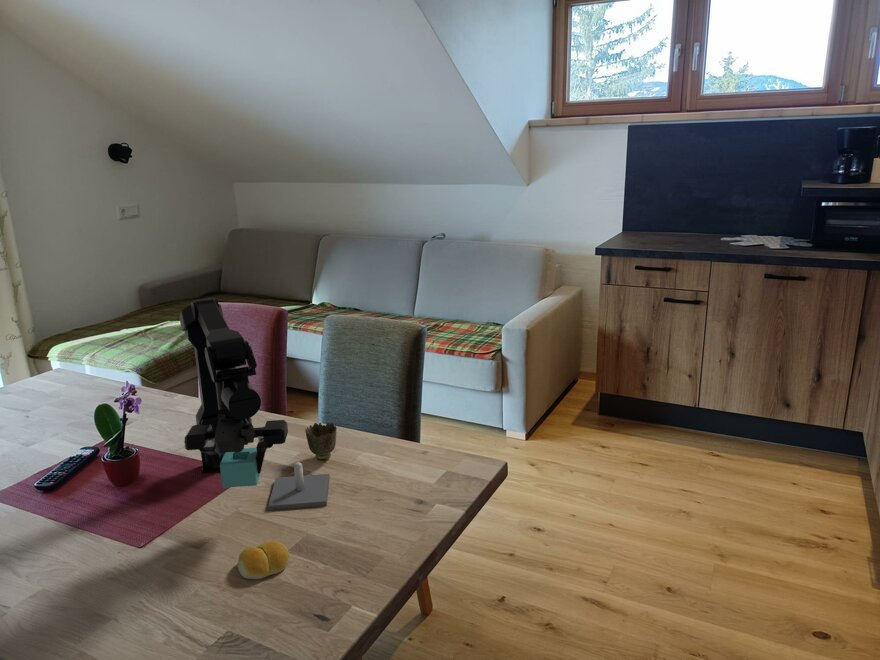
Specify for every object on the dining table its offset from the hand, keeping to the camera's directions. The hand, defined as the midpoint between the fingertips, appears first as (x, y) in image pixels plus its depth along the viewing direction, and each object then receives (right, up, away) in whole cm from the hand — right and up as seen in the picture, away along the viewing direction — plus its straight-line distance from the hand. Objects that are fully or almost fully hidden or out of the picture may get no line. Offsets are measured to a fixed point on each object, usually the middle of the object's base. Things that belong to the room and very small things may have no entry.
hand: (242, 473), depth 130 cm
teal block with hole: (0, -1, 0) cm, 1 cm away
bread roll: (+7, -15, -11) cm, 20 cm away
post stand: (+9, -7, +14) cm, 18 cm away
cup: (+11, -3, +29) cm, 31 cm away
